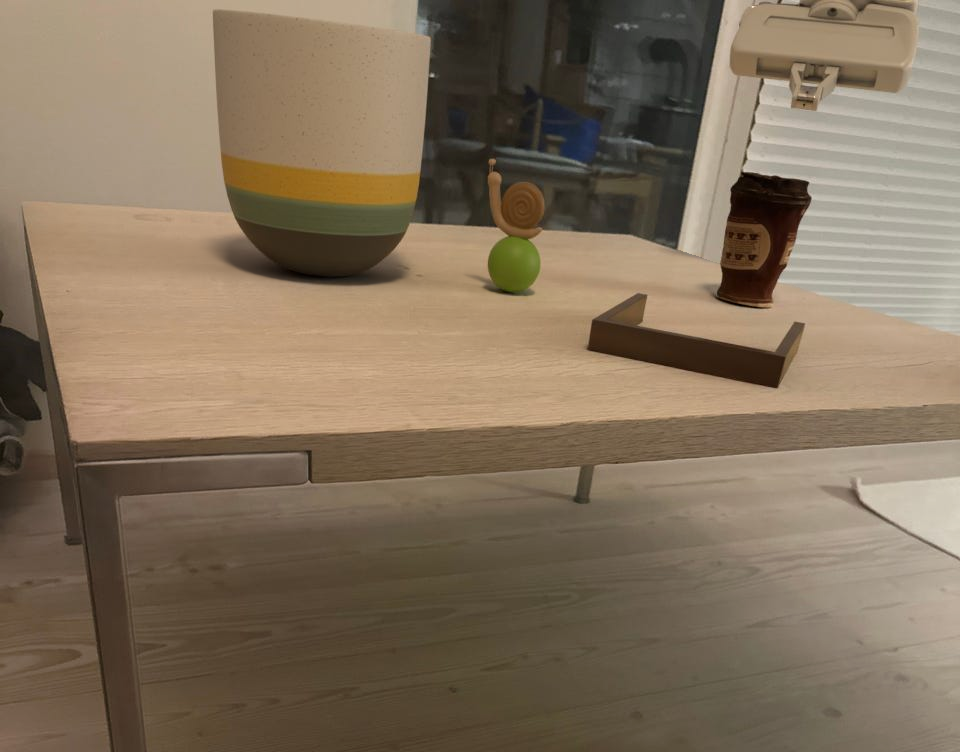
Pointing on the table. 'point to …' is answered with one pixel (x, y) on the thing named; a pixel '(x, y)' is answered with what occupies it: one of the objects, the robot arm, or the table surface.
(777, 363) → the corral
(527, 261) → the snail figurine
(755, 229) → the coffee cup
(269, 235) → the planter
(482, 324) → the table surface
